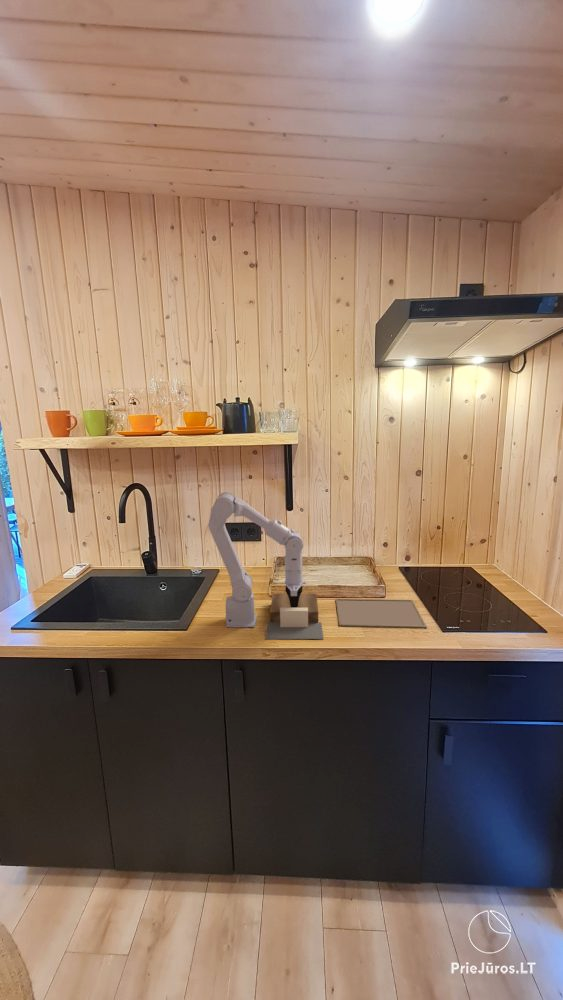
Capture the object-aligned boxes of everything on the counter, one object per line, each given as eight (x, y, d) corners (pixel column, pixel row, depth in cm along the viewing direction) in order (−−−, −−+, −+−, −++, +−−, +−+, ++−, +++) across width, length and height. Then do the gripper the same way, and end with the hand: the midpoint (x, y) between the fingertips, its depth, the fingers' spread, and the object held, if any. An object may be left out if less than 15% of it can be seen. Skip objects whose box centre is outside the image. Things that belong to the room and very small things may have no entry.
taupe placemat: (339, 627, 132) (426, 629, 130) (339, 624, 132) (426, 626, 130) (335, 601, 151) (412, 602, 149) (335, 598, 151) (412, 599, 148)
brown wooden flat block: (270, 623, 135) (270, 612, 134) (272, 603, 149) (272, 593, 148) (318, 623, 134) (318, 612, 133) (316, 603, 148) (316, 593, 147)
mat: (265, 639, 125) (265, 638, 125) (267, 623, 135) (267, 622, 135) (323, 639, 124) (323, 638, 124) (321, 623, 134) (321, 622, 134)
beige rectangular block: (280, 623, 134) (280, 627, 132) (280, 607, 132) (280, 610, 130) (307, 623, 133) (308, 627, 131) (307, 607, 132) (307, 610, 130)
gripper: (306, 577, 126) (306, 617, 129) (305, 560, 140) (305, 597, 143) (283, 577, 126) (284, 617, 129) (284, 561, 140) (285, 597, 143)
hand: (294, 606), depth 136 cm, fingers closed
